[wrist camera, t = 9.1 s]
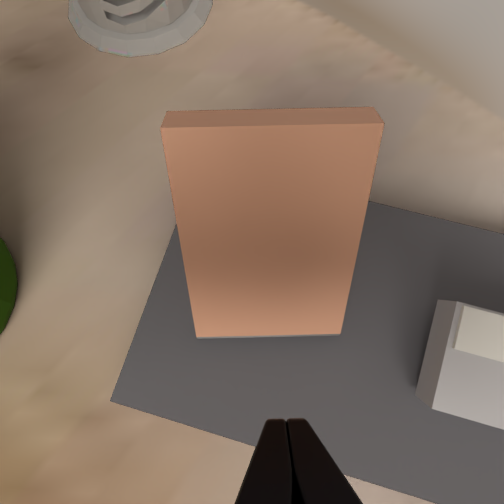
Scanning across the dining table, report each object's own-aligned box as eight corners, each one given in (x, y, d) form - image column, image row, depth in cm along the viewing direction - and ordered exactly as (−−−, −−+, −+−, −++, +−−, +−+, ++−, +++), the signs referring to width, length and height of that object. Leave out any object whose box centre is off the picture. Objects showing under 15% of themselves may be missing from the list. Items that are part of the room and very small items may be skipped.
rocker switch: (541, 431, 15) (579, 452, 13) (414, 394, 16) (433, 410, 14) (563, 332, 16) (603, 339, 14) (437, 299, 16) (459, 301, 14)
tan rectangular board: (338, 341, 17) (384, 123, 10) (197, 344, 17) (160, 127, 10) (333, 319, 18) (372, 106, 11) (200, 322, 18) (166, 110, 11)
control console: (811, 614, 15) (963, 675, 12) (124, 399, 18) (96, 402, 15) (767, 320, 19) (874, 305, 16) (205, 179, 22) (196, 142, 19)
